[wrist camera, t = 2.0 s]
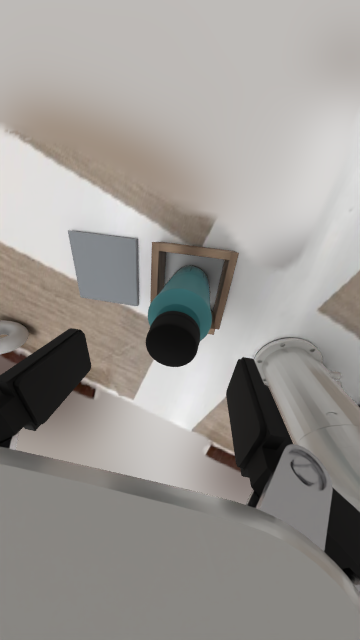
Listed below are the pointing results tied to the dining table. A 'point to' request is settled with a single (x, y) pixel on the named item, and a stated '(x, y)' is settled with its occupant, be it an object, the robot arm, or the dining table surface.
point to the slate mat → (106, 267)
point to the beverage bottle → (179, 318)
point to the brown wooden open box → (163, 247)
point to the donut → (12, 336)
